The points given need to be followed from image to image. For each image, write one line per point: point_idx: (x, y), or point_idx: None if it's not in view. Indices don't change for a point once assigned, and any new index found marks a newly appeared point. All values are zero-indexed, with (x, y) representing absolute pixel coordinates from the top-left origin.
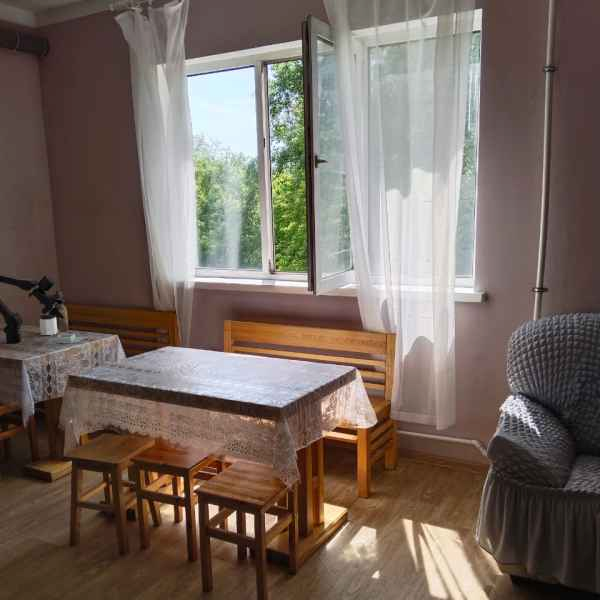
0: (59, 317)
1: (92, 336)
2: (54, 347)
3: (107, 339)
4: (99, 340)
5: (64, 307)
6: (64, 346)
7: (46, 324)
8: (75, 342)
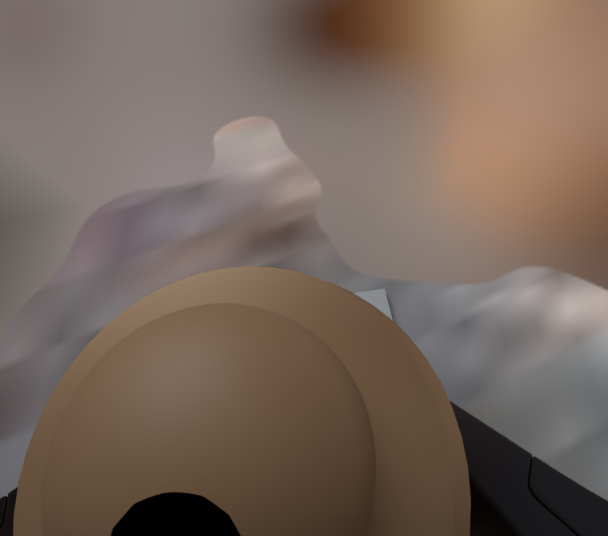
0: None
1: (150, 278)
2: (578, 466)
3: (266, 144)
4: (293, 180)
5: (271, 298)
6: (515, 374)
7: None
8: (391, 318)
